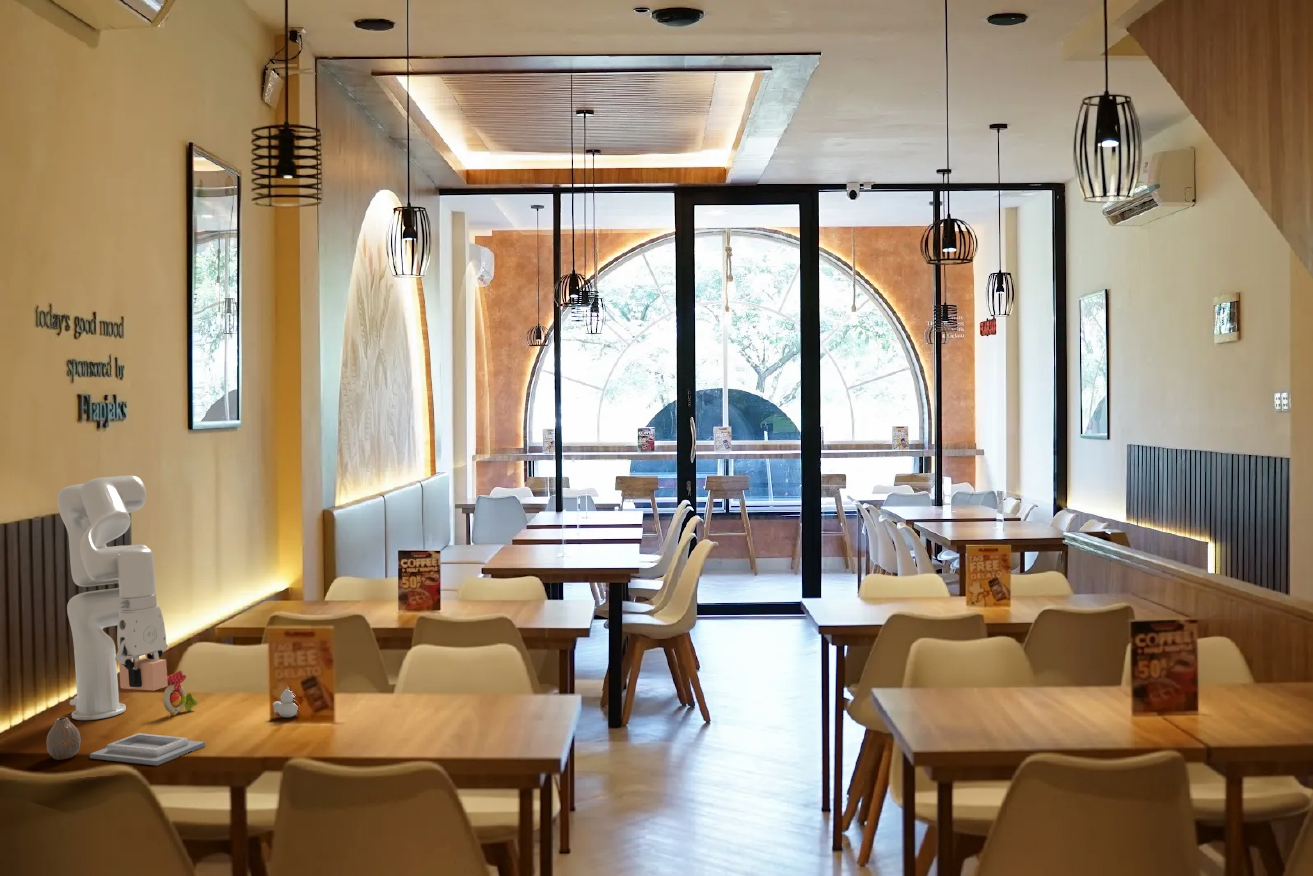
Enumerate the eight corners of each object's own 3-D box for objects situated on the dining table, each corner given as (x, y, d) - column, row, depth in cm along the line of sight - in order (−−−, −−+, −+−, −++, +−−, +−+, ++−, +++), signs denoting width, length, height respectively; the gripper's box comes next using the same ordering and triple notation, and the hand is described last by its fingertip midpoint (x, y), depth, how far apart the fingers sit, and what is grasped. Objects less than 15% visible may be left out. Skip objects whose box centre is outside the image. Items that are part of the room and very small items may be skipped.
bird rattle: (185, 724, 296) (203, 701, 304) (171, 688, 291) (190, 666, 299) (163, 723, 297) (182, 700, 305) (149, 688, 292) (169, 666, 300)
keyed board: (90, 758, 263) (89, 747, 263) (139, 739, 276) (139, 729, 276) (157, 765, 255) (156, 754, 255) (205, 746, 268) (204, 735, 268)
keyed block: (153, 690, 261) (152, 663, 261) (120, 688, 265) (118, 661, 264) (167, 686, 264) (166, 659, 264) (134, 684, 268) (133, 657, 268)
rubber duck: (295, 719, 287) (293, 687, 287) (269, 720, 288) (267, 688, 287) (303, 713, 292) (301, 681, 292) (278, 714, 293) (276, 682, 293)
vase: (71, 750, 270) (68, 713, 269) (87, 754, 266) (85, 716, 265) (41, 759, 264) (38, 720, 264) (57, 763, 260) (55, 724, 260)
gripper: (120, 610, 255) (126, 694, 255) (179, 597, 270) (184, 676, 271) (95, 610, 258) (101, 692, 258) (155, 596, 273) (160, 674, 274)
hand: (143, 683), depth 265 cm, fingers closed on keyed block, 4 cm apart
